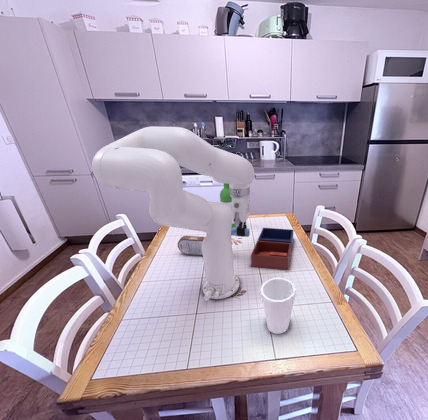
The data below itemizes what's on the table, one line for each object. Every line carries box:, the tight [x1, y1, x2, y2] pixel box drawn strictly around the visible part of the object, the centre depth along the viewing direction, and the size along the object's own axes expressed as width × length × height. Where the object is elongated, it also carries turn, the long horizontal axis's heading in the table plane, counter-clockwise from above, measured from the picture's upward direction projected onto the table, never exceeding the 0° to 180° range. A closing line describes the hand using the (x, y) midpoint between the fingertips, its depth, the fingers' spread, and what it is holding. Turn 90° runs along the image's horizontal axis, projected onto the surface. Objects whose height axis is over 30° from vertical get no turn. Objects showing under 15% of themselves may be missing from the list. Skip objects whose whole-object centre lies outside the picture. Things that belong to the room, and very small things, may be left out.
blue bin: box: [257, 227, 294, 251], centre depth 108 cm, size 11×15×6 cm
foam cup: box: [260, 277, 297, 335], centre depth 66 cm, size 10×9×13 cm
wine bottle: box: [219, 183, 236, 228], centre depth 120 cm, size 8×8×30 cm
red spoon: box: [260, 252, 287, 257], centre depth 97 cm, size 11×4×3 cm, turn 82°
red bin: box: [250, 240, 292, 271], centre depth 97 cm, size 11×15×6 cm
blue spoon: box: [231, 227, 251, 238], centre depth 96 cm, size 11×4×3 cm, turn 82°
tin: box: [177, 235, 206, 257], centre depth 100 cm, size 15×3×8 cm, turn 84°
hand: (241, 234), depth 96 cm, fingers closed on blue spoon, 2 cm apart
